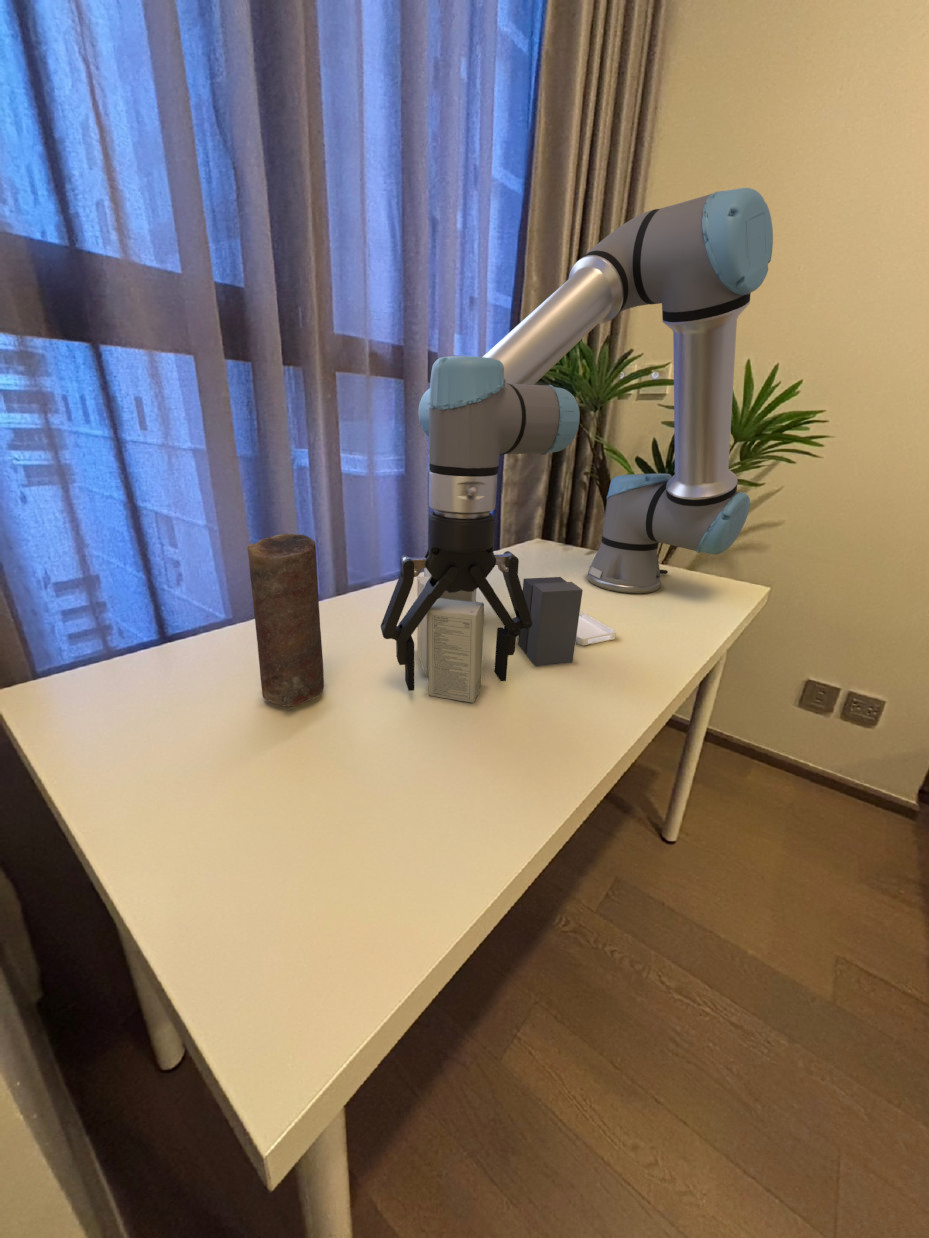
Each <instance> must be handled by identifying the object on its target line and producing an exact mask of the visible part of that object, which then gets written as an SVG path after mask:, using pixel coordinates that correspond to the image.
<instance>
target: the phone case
mask: <svg viewBox="0 0 929 1238" xmlns="http://www.w3.org/2000/svg"><path fill="white" fill-rule="evenodd" d="M616 635H617V631H616V630H615V629H613V628H612V627H609V626H608V625H606V624H604V623H603V622H601V621H599V620H598V619H596V618H594V617H593V616H591V615H589V614H587V613H585V612H584V611H582V610H580V613H579V620H578V628H577V635H576V642H575V644H577V645H579V646H588V645H593V644H597V643H598V644H599V643H603V642H608V641H612V640H613V641H614V640H616Z"/></svg>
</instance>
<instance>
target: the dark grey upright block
mask: <svg viewBox="0 0 929 1238" xmlns="http://www.w3.org/2000/svg"><path fill="white" fill-rule="evenodd" d="M522 590H523V594H524V597H525V601H526V604H527V607H528V611H529V614H530V617H531V621H532V626H531V627H530V628H528V629H526V628H523V629H521V630H520V635H519V636H517V646H518V647H519V648H520V650H521V651H522V652H523V653H524V655H526V657H527V658H528V660H529V661H530V662H531V663H532V665H533V666H534V667H542V666H553V665H562V664H563V665H564V664H573V663H574V655H575V649H576V635H577V628H578V620H579V615H580V611H581V607H582V606H581V605H582V598H583V591H584V590H583V589H582V588H581V587H580V586H578V585H577V584H576V583H575V582H573V581H566V579H564V578H563V577H561V576H548V577H529V578H523V581H522Z"/></svg>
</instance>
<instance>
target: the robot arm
mask: <svg viewBox="0 0 929 1238" xmlns="http://www.w3.org/2000/svg"><path fill="white" fill-rule="evenodd" d="M773 246H774V229H773V220H772V216H771V212H770V208H769V206H768V204H767V202H766V201H765V198H764V197H763V195H762V193H760V192H759V191H757V190H756V189H754V188H751V187H739V188H733V189H728V190H720V191H718V190H717V191H715V192H713V193H710V194H707V195H706V194H705V195H702V196H700V197H696V198H693V199H689V200H686V201H682V202H679V203H675V204H672V205H667V206H665V207H662V208H654V209H651V210H648V211H645V212H643V213H640V214H638V215H636V216H634V217H633V218H631V219H630V220H628V221H626V222H625V223H623V224H621V225H620V226H619V227H617V229H615V230H613V231H612V232H610V233H609V234H607V236H605V237H604V238H603V239H602V240H600V241H599V242H598V243H597V244H595V245H594V246H593V247H592V248H591V249H590V250H589V251H588V252H586V253H585V254H584V255H583V256H582V257H580V258H579V259H578V260H577V261H576V262H575V263H574V265H573V266H572V267H571V270H570V271H569V275H568V278H567V280H565V282H564V283H563V284H561V285H560V286H559V287H558V288H557V289H556V290H555V291H554V292H552V294H550V295H549V296H548V297H547V298H546V299H545V300H544V301H542V303H540V304H539V305H538V306H537V307H536V308H534V310H533V311H531V312H530V313H529V314H528V315H527V316H526V317H525V318H524V319H523V320H521V321H520V322H519V323H518V324H517V325H516V326H515V327H514V328H513V329H512V330H510V331H509V332H507V334H506V335H504V337H502V338H501V339H500V340H499V341H498V342H496V344H495V345H494V346H493V347H491V348H490V349H489V350H488V351H487V352H486V353H485V354H484V355H482V356H469V355H450V356H442V357H439V358H437V359H436V360H435V361H434V363H433V364H432V367H431V373H430V382H429V388H428V389H427V390H426V391H425V392H424V393H423V394H422V396H421V399H420V400H419V403H418V405H419V406H418V410H417V411H418V413H417V415H418V421H419V422H418V423H419V425H420V427H421V430H422V431H423V432H424V434H425V435H426V436H427V437H428V438H429V442H428V443H429V444H428V445H429V450H428V451H429V454H428V455H429V471H428V507H429V508H430V509H431V510H432V511H430V513H429V514H428V528H427V529H428V532H427V533H428V537H427V538H428V540H427V551H426V554H425V555H424V556H423V557H418V556H417V557H411V556H410V555H409V554H403V555H401V557H400V560H399V561H400V562H399V563H400V565H399V566H400V573H399V576H398V578H397V581H396V583H395V587H394V590H393V592H392V595H391V597H390V600H389V603H388V605H387V608H386V610H385V613H384V615H383V618H382V621H381V623H380V630H381V635H382V637H383V639H385V640H394V641H395V653H396V656H395V657H396V660H397V663H398V665H399V666H404V681H405V684H406V687H407V691H408V692H412V691H415V641H414V639H413V634H414V632H415V631H416V630H417V627H418V625H419V624H420V622H421V621H422V619H423V618H424V617H425V615H426V614H427V612H428V611H429V610H430V608H431V607H432V605H433V604H434V603H435V601H436V600H437V599H439V598H440V597H441V596H442V594H443V593H444V591H448V593H454V592H458V591H466V592H473V591H474V590H475V589H476V590H477V589H479V591H480V593H481V594H482V595H483V597H484V598H485V599H486V601H487V602H488V604H489V605H490V607H491V609H492V610H493V612H494V613H495V614H496V616H497V618H498V619H499V620H500V622H501V623H502V625H503V626H501V627H499V626H498V627H497V628H496V642H495V654H494V655H495V657H494V668H493V669H494V671H493V672H494V674H495V675H496V677H497V679H498V680H499V681H500V682H501V683H502V682H507V674H508V663H509V656H514V654H515V653H516V644H517V638H518V636H519V635H520V630H521V629H523V628H526V629H528V628H530V627H531V626H532V621H531V617H530V614H529V611H528V607H527V604H526V601H525V597H524V594H523V586H522V584H521V581H520V577H519V566H520V565H519V563H520V560H519V558H518V557H517V556H516V555H515V554H513V553H512V552H511V551H509V550H507V551H504V552H503V554H501V553H499V554H495V553H494V543H495V542H494V540H495V525H496V516H494V514H493V513H492V512H493V511H494V510H495V509H496V506H497V488H498V473H499V463H500V456H503V455H504V456H505V455H535V454H537V455H542V456H544V455H547V454H552V453H557V452H561V451H563V450H564V449H566V448H568V446H569V445H570V444H571V443H572V442H573V441H574V439H575V438H576V435H577V433H578V432H579V431H578V430H579V424H580V416H581V414H580V413H581V412H580V407H579V404H578V402H577V400H576V398H575V397H574V395H573V394H572V393H571V392H570V391H569V390H567V389H565V388H562V387H556V386H554V385H552V384H546V385H544V384H543V385H542V384H540V385H539V384H537V383H538V382H539V380H541V379H542V377H544V376H545V375H546V374H547V373H549V371H550V370H551V369H552V368H553V367H555V365H556V364H558V363H559V362H560V360H561V359H563V358H564V357H565V356H566V355H567V354H568V353H569V352H570V351H571V350H572V349H573V348H574V347H575V346H576V345H578V343H579V342H581V341H582V340H583V338H585V337H586V336H587V335H588V334H589V333H590V332H591V331H592V330H593V329H594V328H595V327H596V326H598V325H601V324H607V323H608V322H610V321H612V320H613V319H614V318H615V317H616V316H617V315H619V313H621V312H624V311H626V310H629V309H632V308H637V307H640V306H647V305H651V306H652V305H659V304H660V305H661V315H662V316H661V317H662V323H663V324H664V325H666V326H667V327H668V328H669V329H671V331H672V334H673V335H672V337H673V338H672V339H673V341H672V342H673V343H672V344H673V412H674V413H673V421H674V423H673V424H674V425H673V427H674V429H673V430H674V475H672V474H670V473H633V474H620V475H616V476H615V477H614V478H612V479H611V481H610V484H609V488H608V492H607V495H606V504H605V513H604V520H603V526H602V534H601V541H600V545H599V547H598V549H597V551H596V553H595V556H594V558H593V560H592V562H591V564H590V565H589V567H588V570H587V576H586V577H587V580H588V582H589V583H591V584H592V585H594V586H596V587H599V588H600V589H604V590H609V591H613V592H617V593H623V594H647V593H654V592H656V591H657V590H659V589H660V585H661V580H662V579H661V577H662V576H661V575H667V574H668V569H660V562H659V555H658V548H659V543H660V544H664V545H669V546H674V547H678V548H681V549H684V550H685V549H686V550H690V551H693V552H696V553H697V554H700V553H703V554H708V555H715V556H717V555H721V554H723V553H725V552H726V551H728V550H729V549H730V548H731V546H732V545H734V543H735V542H736V540H737V539H738V537H739V536H740V534H741V532H742V530H743V528H744V526H745V523H746V520H747V518H748V516H749V513H750V507H751V498H750V495H748V494H747V493H745V492H744V491H738V476H737V475H736V474H735V472H733V471H731V470H730V468H729V467H730V466H729V465H730V446H731V433H732V431H731V430H732V415H733V414H732V413H733V412H732V411H733V396H734V395H733V394H734V379H735V377H734V376H735V359H736V343H737V341H736V340H737V325H738V318H739V316H740V315H741V314H742V313H743V312H744V311H745V310H746V308H747V307H748V306H749V305H750V303H751V293H753V292H755V291H756V290H758V289H759V287H761V286H762V285H763V283H764V280H765V279H766V277H767V275H768V272H769V264H770V262H771V261H772V255H773V248H774V247H773ZM495 566H497V569H498V570H499V571H500V572H501V573H502V576H503V580H504V583H505V587H506V589H507V592H508V595H509V599H510V602H511V605H512V608H513V612H514V615H515V617H512V616H511V615H510V613H509V612H508V610H507V609H506V607H505V606H504V604H503V603H502V601H501V599H500V597H498V595H497V593H496V592H495V591H494V588H493V587H492V585H491V584H490V582H489V580H488V579H487V578H488V576H489V574H491V572H492V571H493V569H494V568H495ZM424 568H426V569H427V570H428V571H429V573H430V574H431V577H430V578H429V580H428V581H427V583H426V585H425V588H424V589H423V591H422V592H421V594H420V595H419V596H418V598H416V599H415V600H414V602H413V604H412V605H411V606H410V608H409V609H408V610H407V612H406V613H405V615H404V616H403V618H402V619H401V621H400V618H401V616H402V614H403V611H404V608H405V606H406V603H407V600H408V598H409V595H410V593H411V590H412V588H413V584H414V580H415V578H418V577H419V576H420V575H421V574H420V573H421V571H422V570H424Z"/></svg>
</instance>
